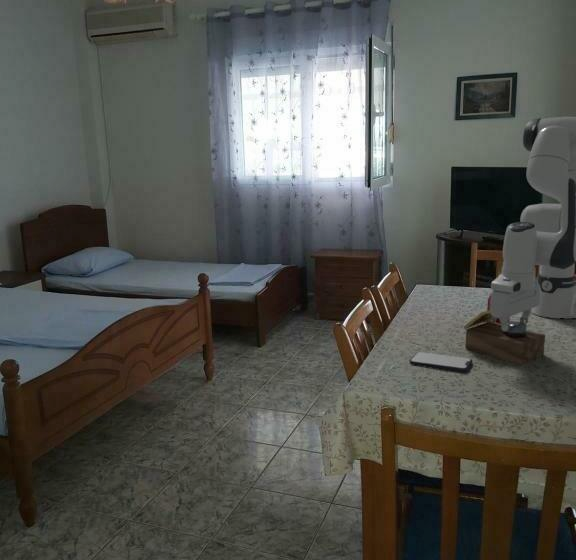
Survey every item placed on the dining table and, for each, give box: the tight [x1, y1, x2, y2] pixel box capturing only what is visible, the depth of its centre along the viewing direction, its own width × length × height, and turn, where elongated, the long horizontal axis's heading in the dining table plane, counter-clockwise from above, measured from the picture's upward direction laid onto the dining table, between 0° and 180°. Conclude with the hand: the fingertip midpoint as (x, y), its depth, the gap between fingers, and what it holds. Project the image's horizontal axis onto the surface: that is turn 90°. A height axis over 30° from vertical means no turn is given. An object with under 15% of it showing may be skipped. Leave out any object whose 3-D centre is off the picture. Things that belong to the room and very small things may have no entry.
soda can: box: [486, 292, 511, 324], centre depth 187 cm, size 7×7×12 cm
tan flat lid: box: [463, 310, 493, 330], centre depth 172 cm, size 12×8×1 cm
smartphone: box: [409, 351, 473, 374], centre depth 161 cm, size 9×2×16 cm
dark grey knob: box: [504, 320, 527, 338], centre depth 165 cm, size 6×6×8 cm
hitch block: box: [465, 321, 546, 365], centre depth 168 cm, size 12×18×6 cm, turn 38°
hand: (514, 326), depth 164 cm, fingers open, 8 cm apart
